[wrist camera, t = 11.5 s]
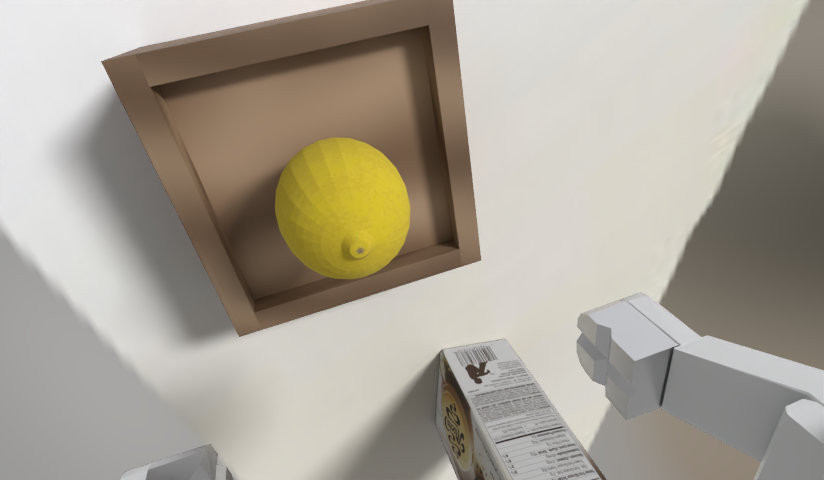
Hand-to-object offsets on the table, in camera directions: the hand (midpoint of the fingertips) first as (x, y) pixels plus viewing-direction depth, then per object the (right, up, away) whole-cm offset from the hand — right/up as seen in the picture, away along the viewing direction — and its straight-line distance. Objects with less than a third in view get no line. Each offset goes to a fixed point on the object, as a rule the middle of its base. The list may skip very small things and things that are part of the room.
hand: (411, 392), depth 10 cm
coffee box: (+5, -9, +30) cm, 32 cm away
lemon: (-4, +7, +13) cm, 15 cm away
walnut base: (-5, +9, +17) cm, 20 cm away
